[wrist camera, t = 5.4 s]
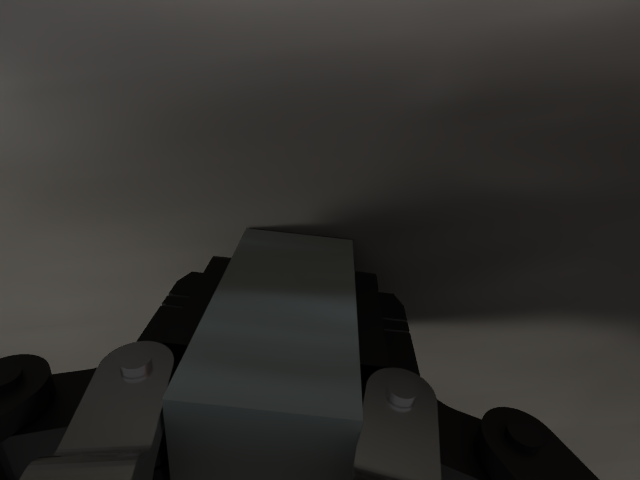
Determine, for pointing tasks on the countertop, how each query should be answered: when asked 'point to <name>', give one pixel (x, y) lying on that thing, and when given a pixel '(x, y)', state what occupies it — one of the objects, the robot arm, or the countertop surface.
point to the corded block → (271, 367)
